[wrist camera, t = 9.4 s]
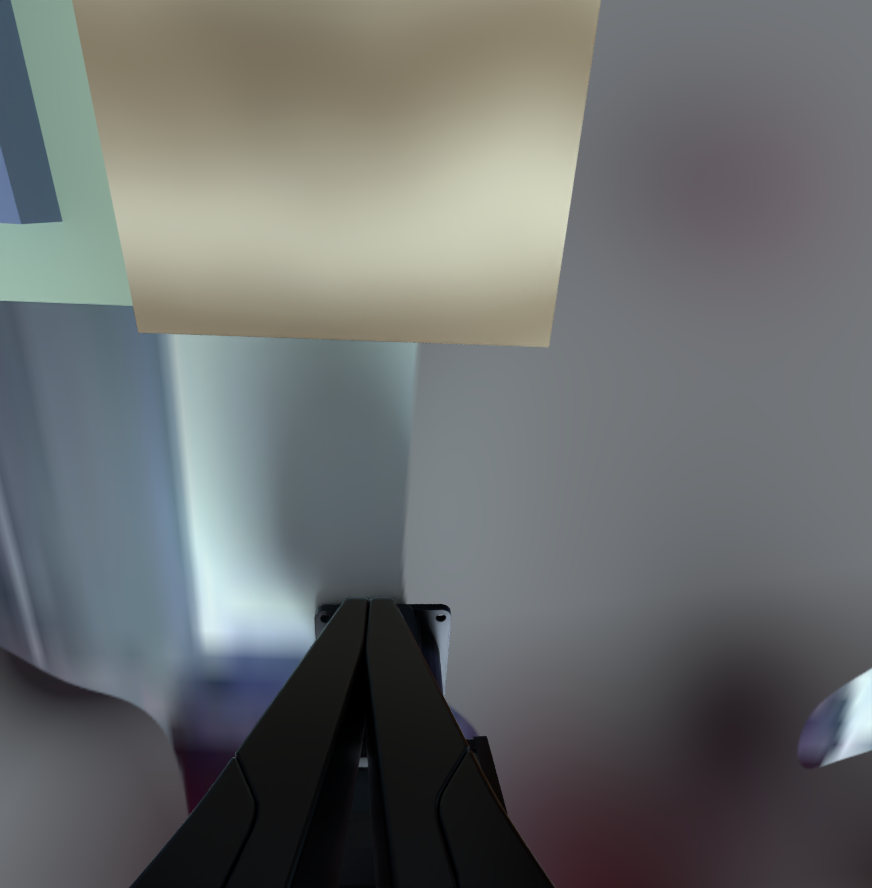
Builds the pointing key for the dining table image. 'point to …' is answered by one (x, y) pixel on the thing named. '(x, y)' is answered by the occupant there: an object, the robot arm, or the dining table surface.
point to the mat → (64, 176)
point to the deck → (341, 162)
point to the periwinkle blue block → (21, 137)
